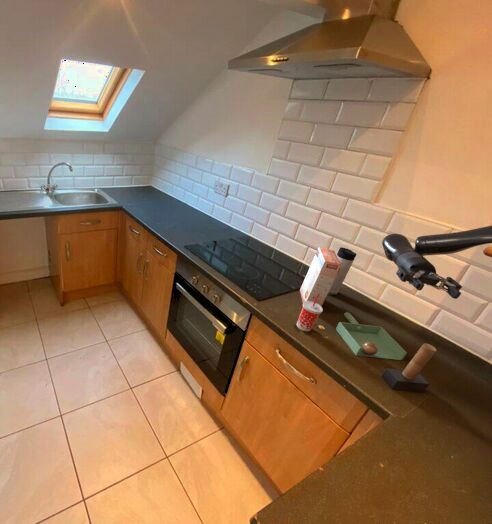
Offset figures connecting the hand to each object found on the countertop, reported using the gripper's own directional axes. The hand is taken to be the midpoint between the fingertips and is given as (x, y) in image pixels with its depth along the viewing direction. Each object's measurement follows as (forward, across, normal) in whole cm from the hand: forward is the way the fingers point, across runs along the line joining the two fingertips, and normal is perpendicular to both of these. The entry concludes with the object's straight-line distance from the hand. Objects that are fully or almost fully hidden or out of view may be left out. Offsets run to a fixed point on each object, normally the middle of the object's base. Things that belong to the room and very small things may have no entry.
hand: (439, 291), depth 84 cm
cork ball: (+3, -9, +23) cm, 25 cm away
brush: (+13, -2, +25) cm, 28 cm away
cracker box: (-21, -23, +25) cm, 40 cm away
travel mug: (-34, -14, +25) cm, 45 cm away
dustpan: (-6, -8, +25) cm, 27 cm away
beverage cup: (-2, -27, +25) cm, 37 cm away
